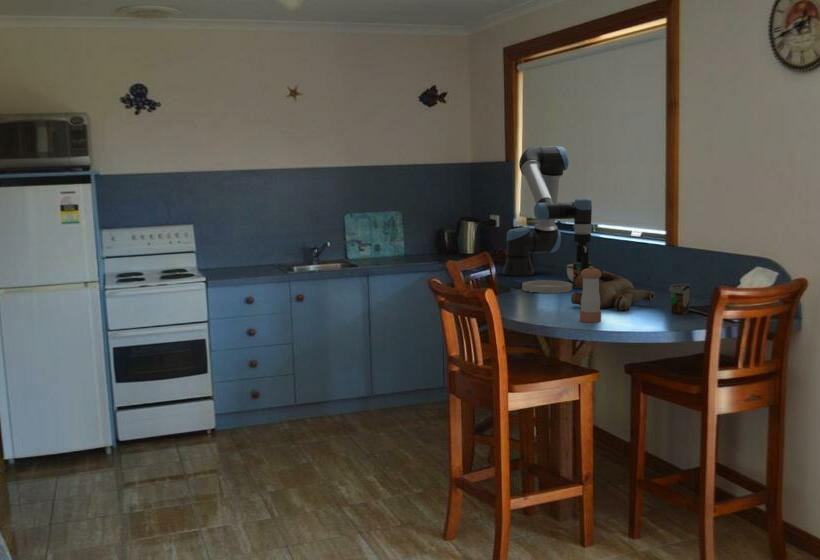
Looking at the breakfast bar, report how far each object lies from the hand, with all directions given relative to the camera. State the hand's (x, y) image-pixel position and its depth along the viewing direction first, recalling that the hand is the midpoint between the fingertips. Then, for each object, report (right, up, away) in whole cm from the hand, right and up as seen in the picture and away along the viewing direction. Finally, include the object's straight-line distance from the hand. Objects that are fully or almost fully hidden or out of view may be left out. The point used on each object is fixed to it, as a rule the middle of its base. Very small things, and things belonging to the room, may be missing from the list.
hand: (581, 284), depth 382 cm
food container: (+21, -10, -69) cm, 73 cm away
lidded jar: (+2, +1, +18) cm, 18 cm away
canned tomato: (0, -1, 0) cm, 1 cm away
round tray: (-17, -2, -8) cm, 19 cm away
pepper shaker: (-14, -13, -84) cm, 86 cm away
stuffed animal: (+2, -9, -52) cm, 53 cm away
